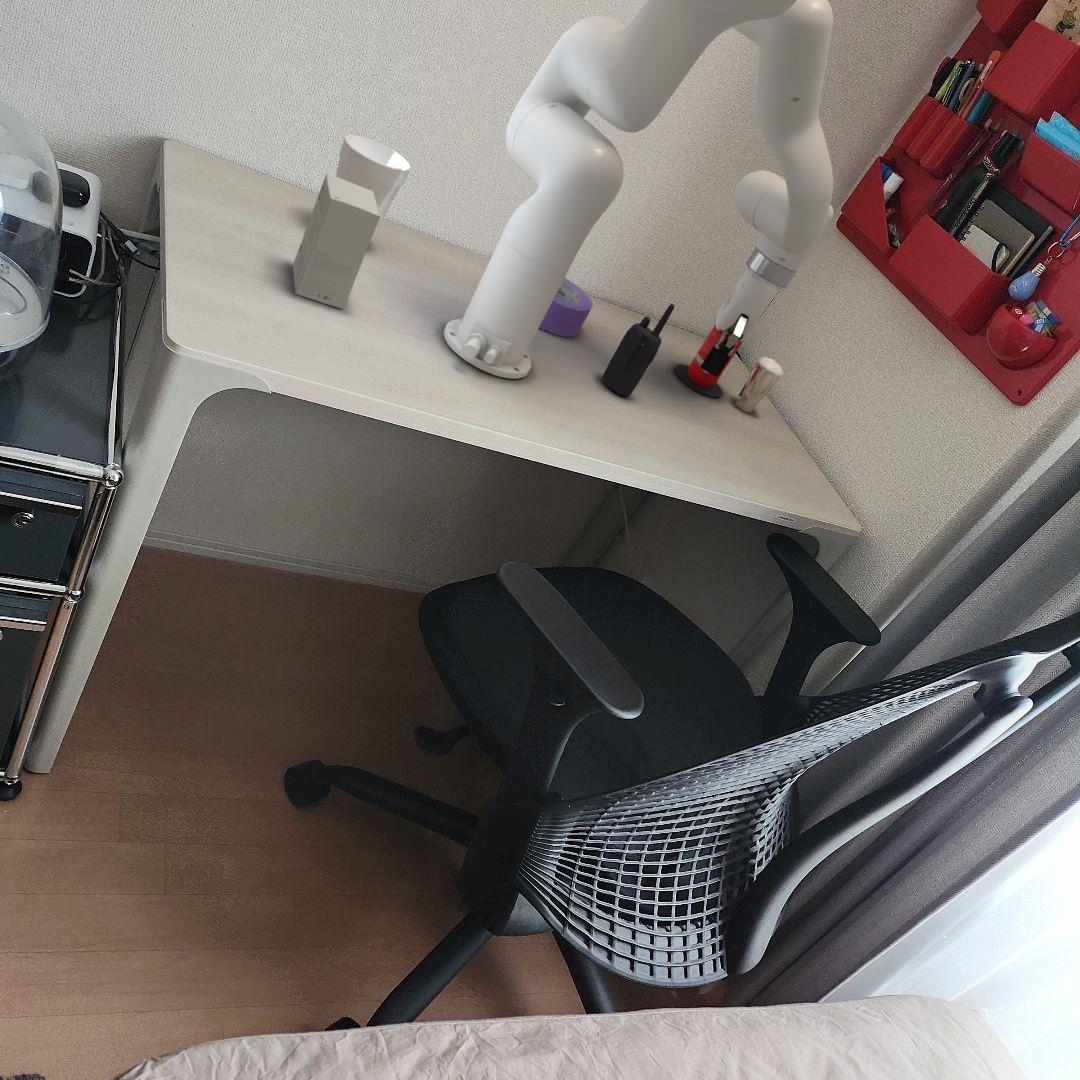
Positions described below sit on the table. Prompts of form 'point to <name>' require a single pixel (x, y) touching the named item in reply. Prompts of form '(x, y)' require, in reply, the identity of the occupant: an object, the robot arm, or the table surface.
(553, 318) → the tape roll
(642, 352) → the two-way radio
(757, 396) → the milkshake
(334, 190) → the small box
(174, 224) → the table surface
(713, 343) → the beverage can
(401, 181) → the foam cup
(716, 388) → the coaster
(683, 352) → the table surface
